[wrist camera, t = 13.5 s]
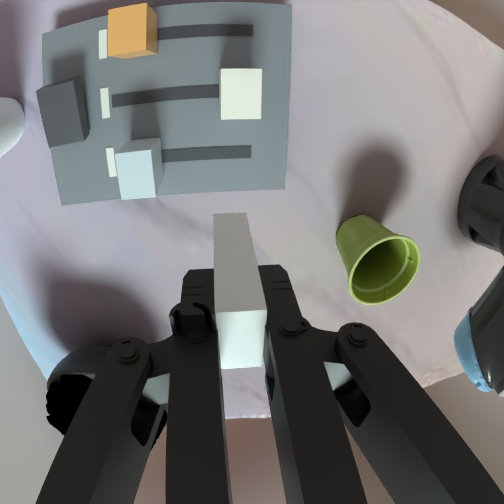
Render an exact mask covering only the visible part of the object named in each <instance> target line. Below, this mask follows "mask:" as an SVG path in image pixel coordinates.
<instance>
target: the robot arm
mask: <svg viewBox="0 0 504 504" xmlns="http://www.w3.org/2000/svg"><path fill="white" fill-rule="evenodd" d="M458 223H459V227H460V229H461V231H462V233H463V234H464V235H465V236H466V237H468V238H469V239H470V240H471V241H472V242H474V243H475V244H478V245H481V246H483V247H486V248H489V249H492V250H494V251H497V252H500V253H501V254H502V255H503V256H504V159H503V158H501V157H498V156H491V157H488V158H486V159H484V160H482V161H481V162H480V163H479V164H478V165H477V166H476V167H475V168H474V169H473V171H472V172H471V174H470V175H469V177H468V179H467V180H466V183H465V185H464V187H463V190H462V193H461V196H460V200H459V205H458ZM169 319H170V323H171V328H172V332H173V334H172V335H171V336H170V337H168V338H167V339H165V340H163V341H160V342H157V343H153V344H149V345H147V344H146V343H145V342H144V341H143V340H141V339H138V338H125V339H121V340H119V341H118V342H116V343H114V345H113V346H112V347H111V348H110V349H109V351H108V353H107V355H106V356H105V358H104V360H103V362H102V364H101V366H100V367H99V369H98V371H97V373H96V375H95V377H94V379H93V380H92V382H91V384H90V386H89V388H88V390H87V392H86V394H85V396H84V398H83V400H82V402H81V404H80V406H79V408H78V410H77V412H76V414H75V416H74V418H73V420H72V422H71V424H70V426H69V428H68V430H67V432H66V434H65V436H64V438H63V441H62V443H61V445H60V447H59V449H58V452H57V454H56V456H55V459H54V460H53V463H52V465H51V467H50V470H49V472H48V474H47V477H46V479H45V482H44V484H43V486H42V489H41V491H40V494H39V496H38V499H37V501H36V504H133V503H134V500H135V496H136V493H137V490H138V487H139V484H140V481H141V477H142V475H143V471H144V469H145V465H146V462H147V459H148V456H149V453H150V450H151V447H152V444H153V441H154V439H155V436H156V433H157V430H158V427H159V424H160V421H161V418H162V415H163V412H164V409H165V407H166V403H167V402H168V414H167V437H166V439H167V440H166V504H233V503H232V493H231V483H230V473H229V462H228V451H227V439H226V427H225V414H224V400H223V385H222V375H221V369H230V368H246V367H259V366H264V363H265V369H266V374H265V386H264V391H267V394H268V399H269V405H270V411H271V417H272V422H273V429H274V435H275V440H276V446H277V452H278V457H279V463H280V469H281V475H282V480H283V486H284V492H285V497H286V503H287V504H367V500H366V497H365V493H364V489H363V486H362V483H361V479H360V476H359V473H358V469H357V466H356V462H355V459H354V456H353V452H352V449H351V446H350V442H349V439H348V436H347V433H346V430H345V426H346V427H347V429H348V430H349V432H350V434H351V435H352V437H353V438H354V440H355V442H356V443H357V445H358V446H359V448H360V449H361V451H362V453H363V454H364V456H365V457H366V459H367V460H368V462H369V464H370V465H371V467H372V468H373V470H374V471H375V473H376V474H377V476H378V478H379V479H380V481H381V482H382V484H383V485H384V487H385V488H386V490H387V491H388V493H389V495H390V496H391V498H392V499H393V501H394V502H395V504H504V495H503V493H502V492H501V490H500V489H499V488H498V486H497V485H496V483H495V482H494V480H493V479H492V478H491V476H490V475H489V474H488V472H487V471H486V469H485V468H484V467H483V465H482V464H481V463H480V461H479V460H478V459H477V458H476V456H475V455H474V453H473V452H472V451H471V449H470V448H469V447H468V446H467V444H466V443H465V441H464V440H463V439H462V438H461V436H460V435H459V434H458V432H457V431H456V430H455V428H454V427H453V426H452V425H451V423H450V422H449V421H448V420H447V418H446V417H445V416H444V414H443V413H442V412H441V411H440V409H439V408H438V407H437V406H436V404H435V403H434V402H433V401H432V399H431V398H430V397H429V396H428V394H427V393H426V392H425V391H424V389H423V388H422V387H421V386H420V385H419V383H418V382H417V381H416V380H415V378H414V377H413V376H412V375H411V374H410V372H409V371H408V370H407V369H406V368H405V366H404V365H403V364H402V363H401V362H400V360H399V359H398V358H397V357H396V356H395V354H394V353H393V352H392V351H391V350H390V349H389V347H388V346H387V345H386V344H385V343H384V342H383V340H382V339H381V338H380V337H379V336H378V335H377V333H376V332H375V331H374V330H373V329H371V328H370V327H369V326H367V325H364V324H362V323H355V322H353V323H348V324H345V325H344V326H342V327H341V328H340V329H339V331H338V332H332V331H325V330H320V329H317V328H315V327H312V326H311V325H310V323H309V322H308V321H307V320H306V319H305V318H303V317H302V315H301V312H300V309H299V306H298V303H297V300H296V297H295V294H294V291H293V289H292V285H291V282H290V279H289V276H288V273H287V271H286V270H285V269H283V268H282V267H281V266H280V265H260V266H258V265H257V261H256V256H255V252H254V247H253V242H252V238H251V233H250V229H249V224H248V220H247V215H246V213H228V214H214V269H195V270H189V271H188V272H187V274H186V275H185V276H184V278H183V285H182V293H181V303H179V304H177V305H176V306H175V307H173V308H172V309H171V311H170V314H169ZM454 342H455V349H456V352H457V355H458V358H459V360H460V363H461V365H462V367H463V369H464V370H465V372H466V374H467V375H468V377H469V378H470V380H471V381H472V382H473V383H475V384H476V386H477V388H479V389H480V390H481V391H484V392H488V391H491V390H493V389H495V391H496V392H497V393H498V395H499V396H500V397H504V266H503V267H502V269H501V270H500V272H499V273H498V274H497V276H496V277H495V279H494V280H493V281H492V283H491V284H490V285H489V287H488V288H487V289H486V291H485V292H484V293H483V295H482V296H481V297H480V298H479V300H478V301H477V302H476V303H475V305H474V306H473V307H471V308H470V309H469V310H468V313H467V315H466V316H465V317H464V319H463V320H462V321H461V322H460V324H459V325H458V326H457V328H456V330H455V334H454ZM344 424H345V426H344Z"/></svg>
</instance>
